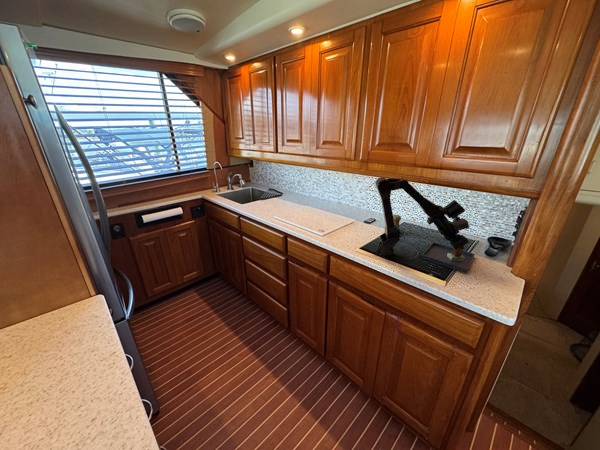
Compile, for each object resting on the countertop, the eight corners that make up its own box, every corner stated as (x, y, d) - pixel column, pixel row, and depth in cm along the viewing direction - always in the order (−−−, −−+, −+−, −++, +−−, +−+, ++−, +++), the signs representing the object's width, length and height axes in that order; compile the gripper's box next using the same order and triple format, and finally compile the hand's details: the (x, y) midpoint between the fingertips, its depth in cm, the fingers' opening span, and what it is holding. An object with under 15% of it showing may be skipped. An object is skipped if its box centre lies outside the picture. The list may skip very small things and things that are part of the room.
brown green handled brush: (450, 260, 114) (456, 242, 110) (446, 256, 118) (452, 238, 114) (463, 261, 114) (469, 242, 110) (459, 256, 118) (464, 238, 114)
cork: (390, 229, 149) (393, 212, 145) (400, 231, 146) (403, 215, 141) (387, 232, 145) (389, 215, 140) (397, 235, 141) (400, 218, 137)
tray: (420, 258, 117) (421, 254, 117) (432, 244, 130) (433, 241, 129) (465, 273, 105) (467, 269, 105) (473, 257, 118) (475, 254, 117)
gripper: (470, 221, 99) (490, 246, 102) (450, 207, 116) (468, 229, 119) (445, 237, 103) (465, 261, 106) (429, 220, 120) (447, 242, 123)
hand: (461, 247), depth 113 cm, fingers closed on brown green handled brush, 3 cm apart
